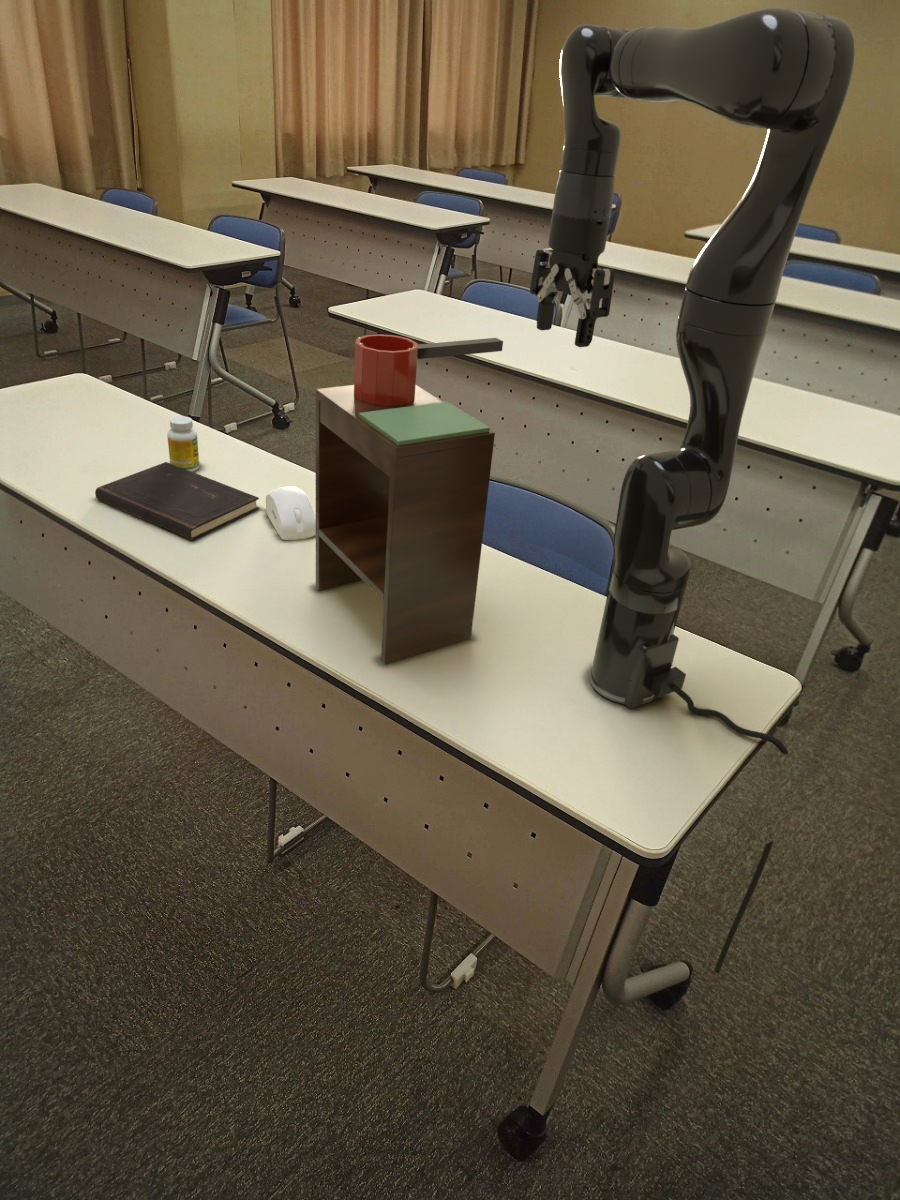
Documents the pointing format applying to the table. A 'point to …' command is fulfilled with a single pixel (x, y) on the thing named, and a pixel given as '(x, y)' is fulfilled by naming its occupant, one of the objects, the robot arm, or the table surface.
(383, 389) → the pot
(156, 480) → the hardcover book
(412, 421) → the green flat slab
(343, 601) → the table surface
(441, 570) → the shelf
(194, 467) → the supplement bottle
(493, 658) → the table surface
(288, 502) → the computer mouse
